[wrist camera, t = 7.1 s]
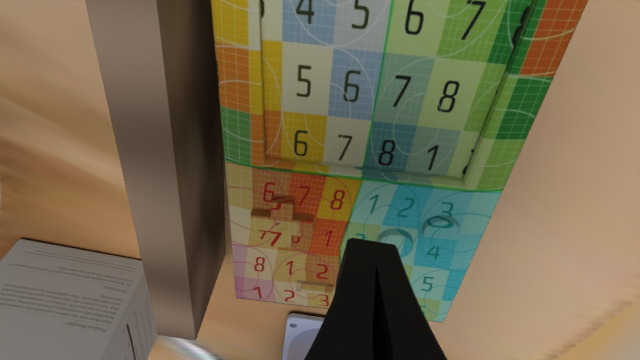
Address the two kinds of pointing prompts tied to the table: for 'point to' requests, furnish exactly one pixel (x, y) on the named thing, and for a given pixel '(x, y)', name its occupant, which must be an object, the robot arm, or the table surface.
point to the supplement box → (73, 305)
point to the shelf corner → (167, 146)
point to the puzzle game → (375, 132)
